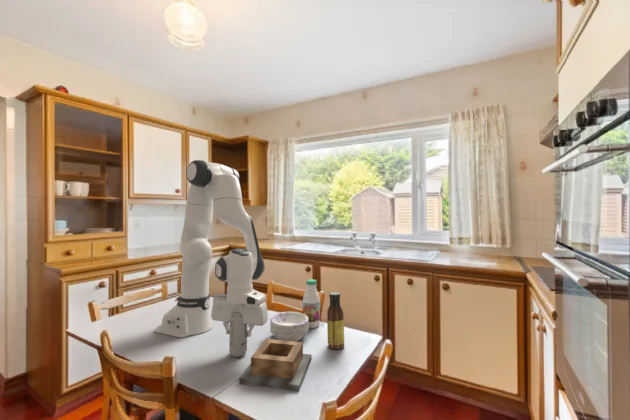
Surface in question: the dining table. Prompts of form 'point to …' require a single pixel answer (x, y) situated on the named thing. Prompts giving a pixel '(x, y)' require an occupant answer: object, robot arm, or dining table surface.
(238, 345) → the energy drink can
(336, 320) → the sauce bottle
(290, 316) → the paper bowls
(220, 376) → the dining table surface
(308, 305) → the milk bottle
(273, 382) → the socket holder
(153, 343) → the dining table surface
